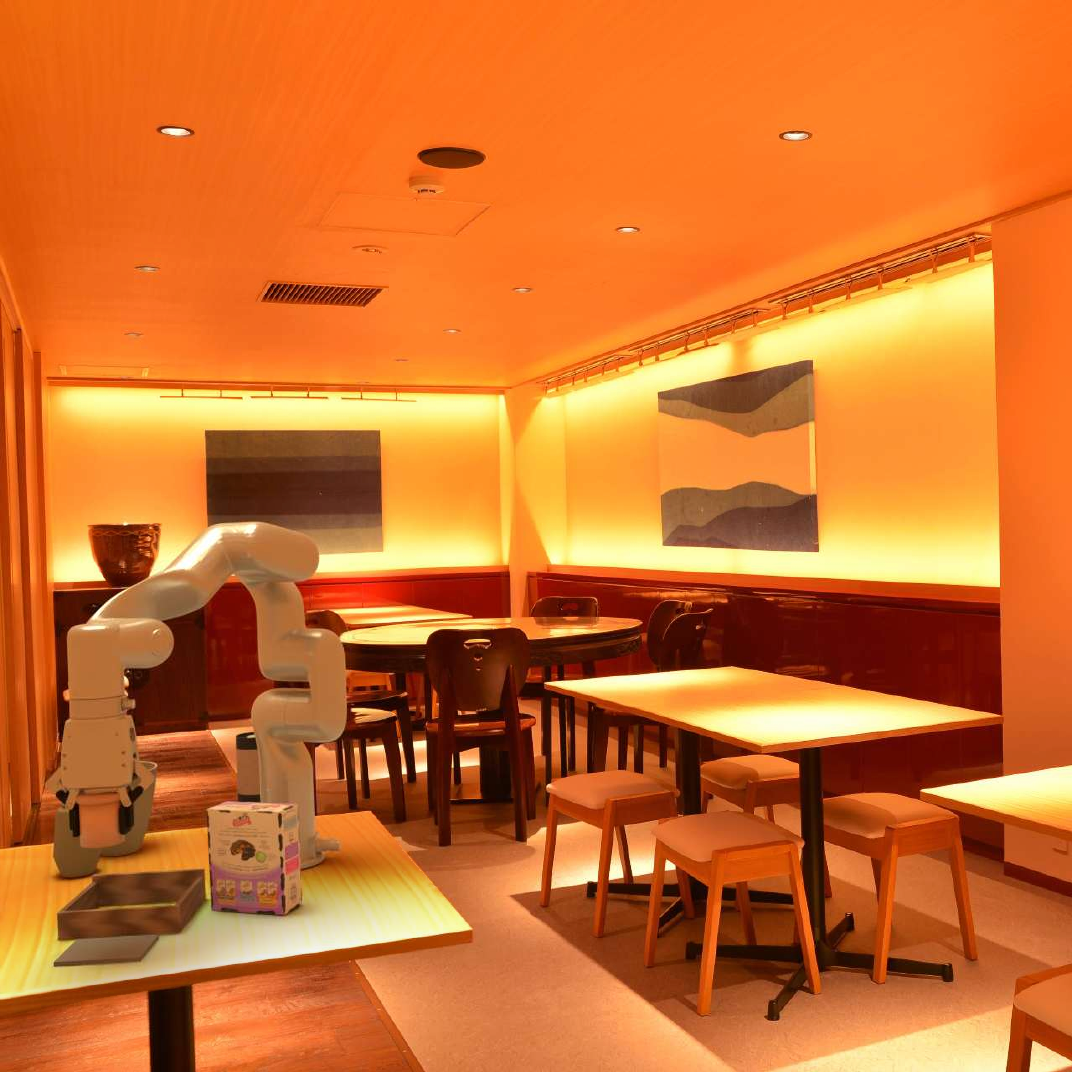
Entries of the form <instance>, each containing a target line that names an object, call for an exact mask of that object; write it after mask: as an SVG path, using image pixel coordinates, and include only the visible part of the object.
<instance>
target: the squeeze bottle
mask: <svg viewBox="0 0 1072 1072" xmlns="http://www.w3.org/2000/svg"><path fill="white" fill-rule="evenodd" d="M67 790H68V791H69V792H70V789H67ZM60 805H61V806H59V807H58V808H57V809H56V810H55V822H54V835H53V849H52V851H53V853H52V858H53V860H54V862H55V864H56V865H55V866H56V867H57V869H58V870H57V871H58V872H59V874H60V877H62V878H70V879H71V878H80V877H81V878H82V877H85V876H89V875H91V874H94V872H95V871H96V870H97V866H98V864H99V859H100V857H101V854H100V853H101V848H84V847H81V846H80V836H78V837H73V830H70V826H69V810H68V809H66V807H65V805H64V804H63V803H62V802H61V801H60Z"/></svg>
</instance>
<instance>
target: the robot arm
mask: <svg viewBox="0 0 1072 1072" xmlns="http://www.w3.org/2000/svg"><path fill="white" fill-rule="evenodd" d="M319 564H320V551H319V549H318V546H317V544H316V543H315V541H314V540H313V539H312V538H311V537H310V536H309V535H307V534H305V533H302V532H299V531H295V530H293V529H288V528H286V527H282V526H280V525H275V524H272V523H269V522H268V523H267V522H263V521H242V522H224V523H217V524H212V525H210V526H208V527H206V528H205V529H204V530H202V531H201V532H200V533H199V534H198V535H197V536H196V538H194V539H193V540H192V541H191V542H190V543H189V544H188V545H187V546H186V548H184V549H183V550H182V551H181V553H179V554H178V555H177V557H175V559H173V561H172V562H171V563H170V564H169V565H168V566H167V567H165V569H163V570H162V571H159V572H158V573H157V572H156V573H155V574H152V575H151V576H149V577H146V578H145V579H143V580H142V581H140V582H138V583H135V584H134V585H131V586H129V587H128V588H126V589H124V590H122V591H120V592H118V593H117V594H116V595H114V596H113V597H111V598H110V599H109V600H107V601H106V602H105V603H103V605H102V606H101V607H100V608H99V609H97V611H96V612H95V613H94V614H93V615H92V616H91V617H90V618H89V619H88V620H87V622H86V623H81V624H78V625H74V626H72V627H71V628H70V629H69V630H68V631H67V636H66V646H67V650H66V652H67V672H68V673H67V675H68V698H69V701H68V704H69V718H68V719H67V720H66V721H65V722H64V729H63V735H62V743H61V752H60V755H61V756H60V766H59V767H58V768H57V770H55V772H54V773H53V774H52V775H51V776H50V777H49V778H48V779H47V780H46V782H45V783H44V787H45V788H46V789H47V790H48V791H49V792H50V793H52V794H53V795H55V798H56V799H58V800H59V801H60V803H61V802H62V803H63V804H64V805H65V807H66V809H68V810H69V826H70V830H73V837H78V836H80V821H79V804H77V803H76V796H78V795H79V793H80V792H84V791H85V790H87V789H107V788H116V791H117V793H118V794H119V793H120V800H121V802H122V806H121V807H120V808H119V828H120V834H121V835H126V834H127V833H128V832H129V831H131V827H133V826H134V802H135V801H136V800H137V799H138V798H139V797H140V796H141V794H142V793H143V792H144V791H145V790H146V789H147V788H148V787H149V786H150V785H151V784H152V783H153V782H154V781H155V776H154V775H153V774H152V773H151V772H150V771H149V770H148V769H147V768H146V767H145V766H144V765H143V764H141V763H140V754H139V753H140V752H139V746H138V738H137V733H136V729H135V728H136V727H135V723H134V720H133V716H132V715H131V714H129V715H127V712H128V711H129V710H131V709H132V710H133V709H135V708H136V700H135V699H134V698H133V699H130V698H128V697H127V694H126V693H125V691H126V689H125V685H126V684H125V670H126V669H150V668H154V667H157V666H159V665H161V664H163V663H164V662H165V661H166V660H167V659H168V658H169V657H170V656H171V654H172V652H173V649H174V646H175V644H174V642H175V638H174V634H173V632H172V630H171V628H170V627H169V626H168V625H167V624H166V623H164V622H163V621H166V620H170V619H174V618H178V617H183V616H185V615H188V614H190V613H192V612H195V611H197V610H200V609H202V608H203V607H205V605H206V604H207V603H208V602H209V601H210V600H211V599H212V598H213V597H214V596H215V595H216V593H217V592H218V591H219V590H220V589H221V587H222V586H223V585H225V583H226V582H227V581H228V580H229V579H230V578H231V576H234V577H235V578H237V579H238V580H239V582H241V583H242V585H244V587H246V589H247V591H248V592H249V593H250V595H251V597H252V599H253V601H254V604H255V609H256V624H257V625H256V627H257V628H256V629H257V657H258V666H259V670H260V672H261V674H262V676H263V677H265V678H266V679H268V680H272V681H278V682H308V683H309V688H299V687H298V688H297V687H295V688H294V687H290V688H288V687H280V688H279V687H278V688H271V689H269V690H266V691H263V692H262V693H260V694H259V695H257V697H256V698H255V700H254V701H253V704H252V708H251V711H250V718H251V725H252V730H253V732H254V734H255V738H256V743H257V749H258V757H259V772H260V799H261V803H283V804H298V820H299V842H300V865H301V870H302V869H307V868H311V867H314V866H316V865H318V864H321V863H322V862H323V861H325V858H326V852H327V851H328V852H339V851H340V850H341V840H340V839H336V838H334V837H333V838H322V837H320V831H316V818H315V817H316V816H315V815H316V814H315V792H314V791H315V789H314V788H315V787H314V766H313V761H312V758H311V754H310V752H309V750H308V749H307V747H306V744H305V743H331V742H334V741H337V739H338V738H340V737H341V735H342V734H343V732H344V731H345V728H346V724H347V715H348V706H347V705H348V702H347V700H348V698H347V697H348V696H347V669H346V668H347V667H346V654H345V649H344V645H343V643H342V640H341V639H340V637H339V636H338V635H337V634H336V633H335V632H334V631H332V630H331V629H330V630H329V629H326V628H307V626H306V620H305V617H306V615H305V606H304V599H303V596H302V594H301V592H300V590H299V589H298V587H297V585H296V583H301V582H305V581H308V580H309V579H311V578H312V577H313V576H314V575H315V574H316V571H317V570H318V568H319ZM139 777H140V778H141V782H140V783H139V785H138V786H137V787H136V788H135V789H134V790H133V788H132V786H131V784H130V783H131V782H132V781H135V780H137V779H138V778H139ZM68 789H70V792H69V791H68Z"/></svg>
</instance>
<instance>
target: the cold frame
mask: <svg viewBox="0 0 1072 1072" xmlns="http://www.w3.org/2000/svg"><path fill="white" fill-rule="evenodd" d="M205 870H206V869H205V868H195V869H194V868H193V869H191V868H190V869H172V870H171V869H170V870H155V871H154V870H153V871H137V872H136V871H135V872H120V873H119V872H117V873H99V874H93V875H91V879H92V882H91V883H90V884H89V885H87V886H86V887H85V888H84V889H83V890H82V891H80V892H79V893H78V894H76V896H75V897H74V898H73V899H71V900H70V901H69V902H68V903H67V904H66V905H64V906H63V907H62V908H61V909H60V910H59V911H58V912H56V920H57V921H56V924H57V926H56V927H57V940H58V941H61V940H62V941H63V940H77V939H90V938H107V937H125V936H142V935H165V934H166V935H167V934H180V933H181V932H182V931H183V929H184V928H185V926H186V925H188V923H189V921H190V920H191V919H192V918H193V917H194V915H195V913H197V911H198V910H199V908H200V907H201V906H202V904H203V903H204V902H205V901H206V899H207V893H206V892H207V891H206V871H205ZM164 903H165V904H166V903H175V904H168V905H167V904H166V905H152V906H150V904H164ZM147 904H149V906H133V905H147ZM125 905H127V906H128V905H130V906H131V905H132V906H133V907H115V908H114V907H113V906H125ZM108 906H110V907H111V906H112V907H113V908H98V907H108ZM97 908H98V909H97Z"/></svg>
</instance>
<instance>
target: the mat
mask: <svg viewBox="0 0 1072 1072" xmlns="http://www.w3.org/2000/svg"><path fill="white" fill-rule="evenodd" d="M159 938H160V934H152V935H134V936H116V937H99V938H81V939H74V940H75V941H73V942H72V943H71V944H70V945H69V946H68V947H67V948H66V949H65V950H64V951H63V952H62V953H61V954H60V955H59V956H58V957H57V958H56V959H54V961H53V967H65V966H67V967H69V966H80V965H81V966H83V965H86V966H87V965H99V964H101V965H102V964H118V963H120V964H121V963H137V962H141V961H142V960H143V959H144V957H145V956H146V955H147V954H148V953H149V952H150V951H151V949H152V948H153V947H154V946H155V944H156V943H157V942H158V941H159Z"/></svg>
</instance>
